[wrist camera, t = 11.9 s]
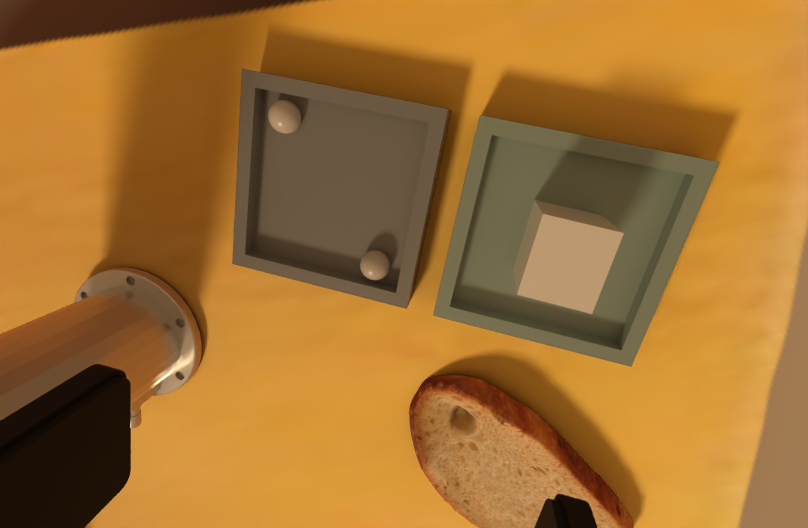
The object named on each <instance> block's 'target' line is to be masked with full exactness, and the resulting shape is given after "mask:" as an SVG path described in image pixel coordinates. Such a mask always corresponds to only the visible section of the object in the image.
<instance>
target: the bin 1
mask: <svg viewBox="0 0 808 528" xmlns="http://www.w3.org/2000/svg"><path fill="white" fill-rule="evenodd" d="M450 114H451V110H449V109H446V108H440V107H435V106H430V105H425V104H420V103H415V102H410V101H405V100H399V99H394V98H389V97H384V96H379V95H374V94H369V93H364V92H358V91H353V90H348V89H343V88H338V87H333V86H328V85H323V84H317V83H312V82H307V81H302V80H297V79H292V78H287V77H282V76H276V75H271V74H266V73H261V72H256V71H251V70H246V69H242V81H241V101H240V121H239V141H238V161H237V181H236V201H235V221H234V241H233V261H232V264H235V265H239V266H243V267H247V268H251V269H255V270H259V271H262V272H266V273H270V274H274V275H278V276H282V277H286V278H290V279H293V280H297V281H301V282H305V283H309V284H313V285H317V286H321V287H324V288H328V289H332V290H336V291H340V292H344V293H348V294H352V295H355V296H359V297H363V298H367V299H371V300H375V301H379V302H383V303H386V304H390V305H394V306H398V307H402V308H406V309H407V307H408V305H409V303H410V300H411V298H412V295H413V290H414V285H415V280H416V276H417V271H418V266H419V261H420V257H421V252H422V247H423V242H424V238H425V233H426V228H427V224H428V219H429V214H430V209H431V205H432V200H433V195H434V190H435V186H436V181H437V176H438V171H439V167H440V162H441V157H442V152H443V148H444V143H445V138H446V133H447V129H448V124H449V119H450Z"/></svg>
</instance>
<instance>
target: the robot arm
mask: <svg viewBox="0 0 808 528" xmlns="http://www.w3.org/2000/svg"><path fill="white" fill-rule="evenodd" d="M201 355H202V342H201V336H200V331H199V328H198V325H197V322H196V320H195V318H194V316H193V314H192V312H191V310H190V309H189V307H188V306H187V304H186V303H185V302H184V300H183V299H182V298H181V296H180V295H179V294H178V293H177V292H176V291H174V290H173V289H172V288H171V287H170V286H169V285H168V284H166V283H165V282H164V281H162V280H161V279H159V278H157V277H156V276H154V275H152V274H150V273H148V272H145V271H142V270H138V269H135V268H127V267H120V268H112V269H109V270H106V271H103V272H100V273H98V274H96V275H94V276H92V277H90V278H89V279H88V280H87V281H85V282H84V283H83V284H82V286H81V287H80V289H79V290H78V292H77V295H76V298H75V301H74V303H73V304H71V305H68V306H66V307H63V308H61V309H59V310H56V311H54V312H52V313H49V314H47V315H44V316H42V317H40V318H37V319H35V320H33V321H30V322H28V323H26V324H23V325H21V326H18V327H16V328H14V329H11V330H9V331H7V332H4V333H2V334H0V528H84V527H85V526H86V525H87V524H88V523H89V522H90V521H91V520H92V519H93V518H94V517H95V516H96V515H97V514H98V513H99V512H100V511H101V510H102V509H103V508H104V507H105V506H106V505H107V504H108V503H109V502H110V501H111V500H112V499H113V498H114V497H115V496H116V495H117V494H118V493H119V492H120V491H121V490H122V488H123V487H124V486H125V484H126V483H127V481H128V479H129V476H130V471H131V428H136V427H138V426H139V425H140V424H141V409H140V406H141V405H142V404H143V403H144V402H145V401H147V400H148V399H149V398H150V397H152V396H156V395H164V394H169V393H171V392H173V391H175V390H177V389H179V388H180V387H182V386H183V385H184V384H185V383H187V382H188V381H189V380H190V379H191V377H192V376H193V375H194V374H195V372H196V370H197V368H198V366H199V363H200V359H201ZM534 528H597V524H596V521H595V518H594V515H593V512H592V509H591V507H590V505H589V503H588V502H587V501H585V500H581V499H578V498H574V497H570V496H567V495H563V494H557V495H556V496H555V498H554V500H553V499H550V498H547V499H546V501H545V503H544V505H543V507H542V510H541V512H540V515H539V517H538V520H537V522H536V525H535V527H534Z"/></svg>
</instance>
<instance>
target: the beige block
mask: <svg viewBox="0 0 808 528" xmlns="http://www.w3.org/2000/svg"><path fill="white" fill-rule="evenodd" d="M623 234H624V233H623V232H622V231H621V230H620V229H618V228H617V227H616V226H615V225H613V224H612V223H611V222H610V221H608V220H607V219H606V218H605V217H603V216H602V215H599V214H595V213H590V212H586V211H582V210H578V209H573V208H569V207H565V206H560V205H556V204H552V203H547V202H543V201H539V200H535V199H534V203H533V206H532V209H531V212H530V215H529V219H528V222H527V225H526V228H525V232H524V235H523V238H522V241H521V244H520V248H519V251H518V254H517V257H516V261H515V264H514V267H513V271H514V278H515V285H516V291H517V295H520V296H524V297H528V298H532V299H536V300H540V301H543V302H547V303H551V304H555V305H559V306H563V307H566V308H570V309H574V310H578V311H582V312H586V313H590V314H592V313H593V310H594V308H595V305H596V303H597V300H598V298H599V295H600V293H601V290H602V287H603V285H604V282H605V280H606V277H607V275H608V272H609V270H610V267H611V265H612V262H613V260H614V257H615V255H616V252H617V250H618V247H619V244H620V242H621V239H622V237H623Z"/></svg>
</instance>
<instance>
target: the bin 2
mask: <svg viewBox="0 0 808 528" xmlns="http://www.w3.org/2000/svg"><path fill="white" fill-rule="evenodd" d="M718 165H719V162H717V161H712V160H707V159H702V158H697V157H691V156H686V155H681V154H676V153H671V152H666V151H661V150H656V149H650V148H645V147H640V146H635V145H630V144H625V143H620V142H615V141H609V140H604V139H599V138H594V137H589V136H584V135H579V134H574V133H568V132H563V131H558V130H553V129H548V128H543V127H538V126H533V125H527V124H522V123H517V122H512V121H507V120H502V119H497V118H492V117H487V116H481V115H480V117H479V121H478V125H477V130H476V134H475V138H474V143H473V147H472V151H471V155H470V160H469V164H468V168H467V173H466V177H465V181H464V185H463V190H462V194H461V198H460V203H459V207H458V211H457V215H456V220H455V224H454V228H453V233H452V237H451V241H450V245H449V250H448V254H447V258H446V263H445V267H444V271H443V275H442V280H441V284H440V288H439V292H438V297H437V301H436V305H435V310H434V314H433V316H437V317H441V318H445V319H448V320H452V321H456V322H460V323H464V324H468V325H472V326H475V327H479V328H483V329H487V330H491V331H495V332H499V333H503V334H506V335H510V336H514V337H518V338H522V339H526V340H530V341H534V342H537V343H541V344H545V345H549V346H553V347H557V348H561V349H565V350H568V351H572V352H576V353H580V354H584V355H588V356H592V357H596V358H599V359H603V360H607V361H611V362H615V363H619V364H623V365H627V366H630V367H631V366H632V364H633V361H634V359H635V357H636V354H637V352H638V350H639V348H640V345H641V343H642V341H643V338H644V336H645V334H646V331H647V329H648V327H649V324H650V322H651V320H652V317H653V315H654V313H655V310H656V308H657V306H658V304H659V301H660V299H661V297H662V294H663V292H664V290H665V287H666V285H667V283H668V280H669V278H670V276H671V273H672V271H673V269H674V266H675V264H676V262H677V260H678V257H679V255H680V253H681V250H682V248H683V246H684V243H685V241H686V239H687V236H688V234H689V232H690V229H691V227H692V225H693V222H694V220H695V218H696V216H697V213H698V211H699V209H700V206H701V204H702V202H703V199H704V197H705V195H706V192H707V190H708V188H709V185H710V183H711V181H712V178H713V176H714V174H715V172H716V169H717V167H718ZM534 199H535V200H539V201H543V202H547V203H552V204H556V205H560V206H565V207H569V208H573V209H578V210H582V211H586V212H590V213H595V214H599V215H602V216H603V217H605V218H606V219H607V220H608V221H610V222H611V223H612V224H613V225H615V226H616V227H617V228H618V229H620V230H621V231H622V232H623V233H624V234H623V237H622V239H621V242H620V244H619V247H618V250H617V252H616V255H615V257H614V260H613V262H612V265H611V267H610V270H609V272H608V275H607V277H606V280H605V282H604V285H603V287H602V290H601V293H600V295H599V298H598V300H597V303H596V305H595V308H594V310H593V313H592V314H590V313H586V312H582V311H578V310H574V309H570V308H566V307H563V306H559V305H555V304H551V303H547V302H543V301H540V300H536V299H532V298H528V297H524V296H520V295H517V291H516V285H515V278H514V271H513V267H514V264H515V261H516V257H517V254H518V251H519V248H520V244H521V241H522V238H523V235H524V232H525V228H526V225H527V222H528V219H529V215H530V212H531V209H532V206H533V203H534Z"/></svg>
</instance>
